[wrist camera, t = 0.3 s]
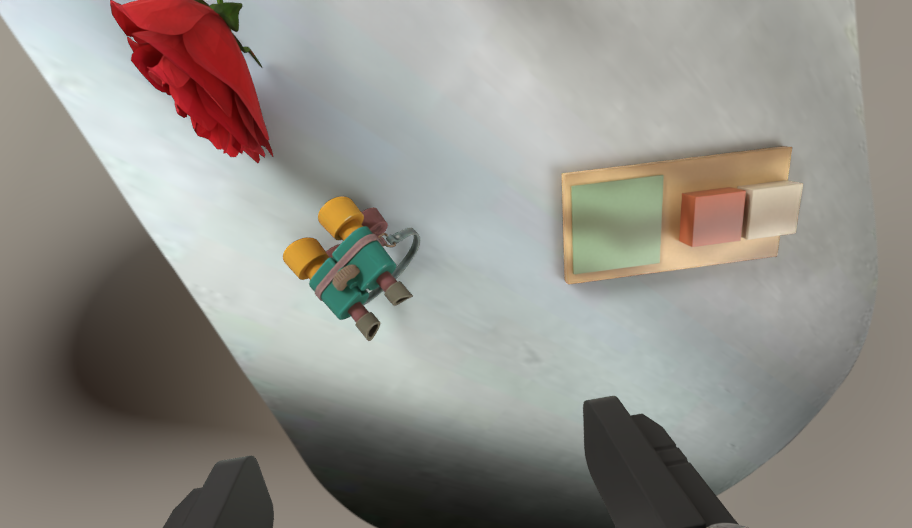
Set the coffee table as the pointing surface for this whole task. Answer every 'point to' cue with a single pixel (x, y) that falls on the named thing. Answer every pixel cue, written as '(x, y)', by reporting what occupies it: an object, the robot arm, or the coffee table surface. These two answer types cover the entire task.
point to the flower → (198, 67)
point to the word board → (677, 214)
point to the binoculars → (352, 262)
